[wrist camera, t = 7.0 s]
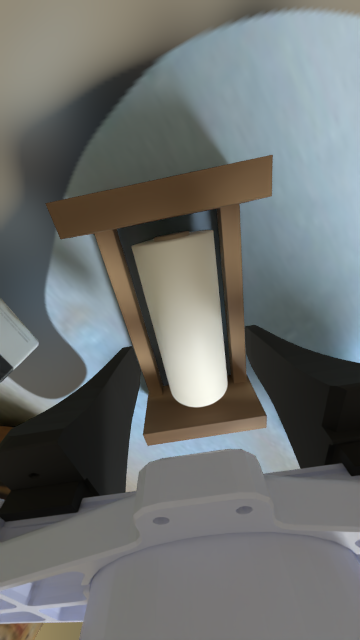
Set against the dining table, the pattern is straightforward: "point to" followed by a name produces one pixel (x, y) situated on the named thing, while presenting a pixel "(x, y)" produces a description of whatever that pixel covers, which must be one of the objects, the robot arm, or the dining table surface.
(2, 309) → the tea box
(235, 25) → the dining table surface
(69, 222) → the holder
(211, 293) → the cylinder
